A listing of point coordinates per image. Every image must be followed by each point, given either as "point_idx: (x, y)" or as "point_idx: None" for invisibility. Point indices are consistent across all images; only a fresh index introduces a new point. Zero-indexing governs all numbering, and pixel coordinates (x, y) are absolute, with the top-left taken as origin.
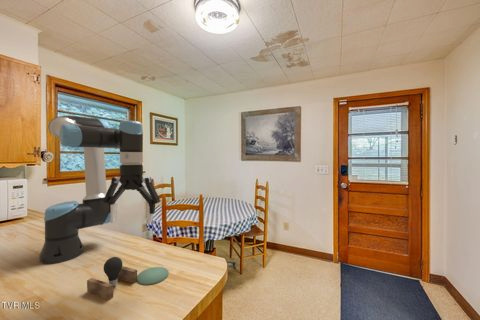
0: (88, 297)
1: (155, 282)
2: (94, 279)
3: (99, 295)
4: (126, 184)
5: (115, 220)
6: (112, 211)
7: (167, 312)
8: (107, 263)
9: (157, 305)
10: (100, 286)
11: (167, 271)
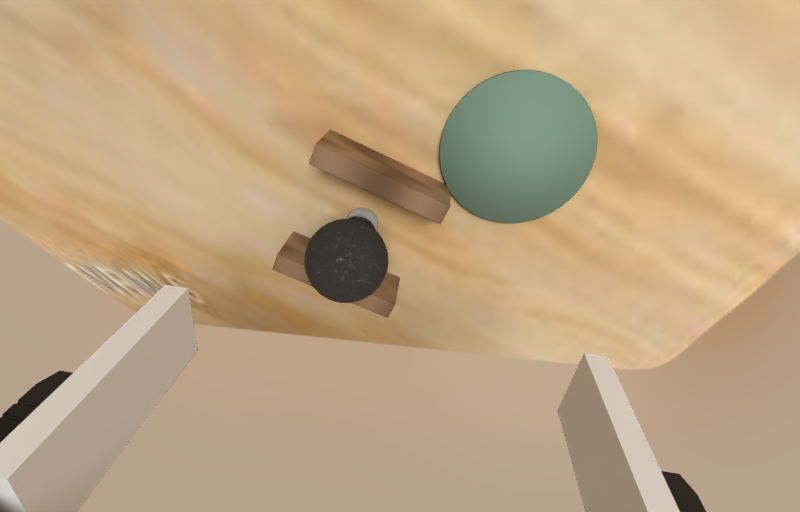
0: None
1: (540, 216)
2: (297, 265)
3: None
4: None
5: (185, 321)
6: (119, 454)
7: None
8: (330, 299)
9: (568, 329)
10: None
11: (591, 128)
